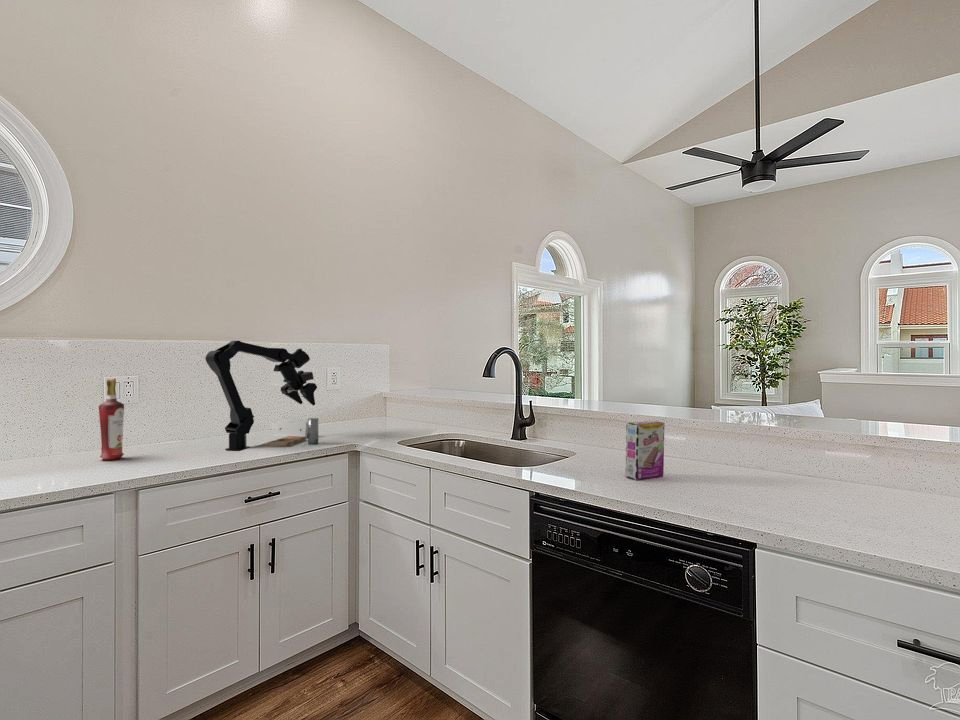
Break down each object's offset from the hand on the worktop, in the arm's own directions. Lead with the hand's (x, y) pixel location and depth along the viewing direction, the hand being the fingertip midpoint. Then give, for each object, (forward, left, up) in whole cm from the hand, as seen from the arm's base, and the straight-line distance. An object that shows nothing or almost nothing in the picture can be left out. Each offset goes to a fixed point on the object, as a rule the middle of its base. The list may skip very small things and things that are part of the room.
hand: (307, 404), depth 227 cm
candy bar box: (-51, -133, -15) cm, 143 cm away
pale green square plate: (-17, -11, -15) cm, 25 cm away
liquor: (-51, +47, -15) cm, 71 cm away
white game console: (-2, +6, -15) cm, 17 cm away
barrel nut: (-17, -11, -14) cm, 25 cm away
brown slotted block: (-17, 0, -15) cm, 23 cm away
